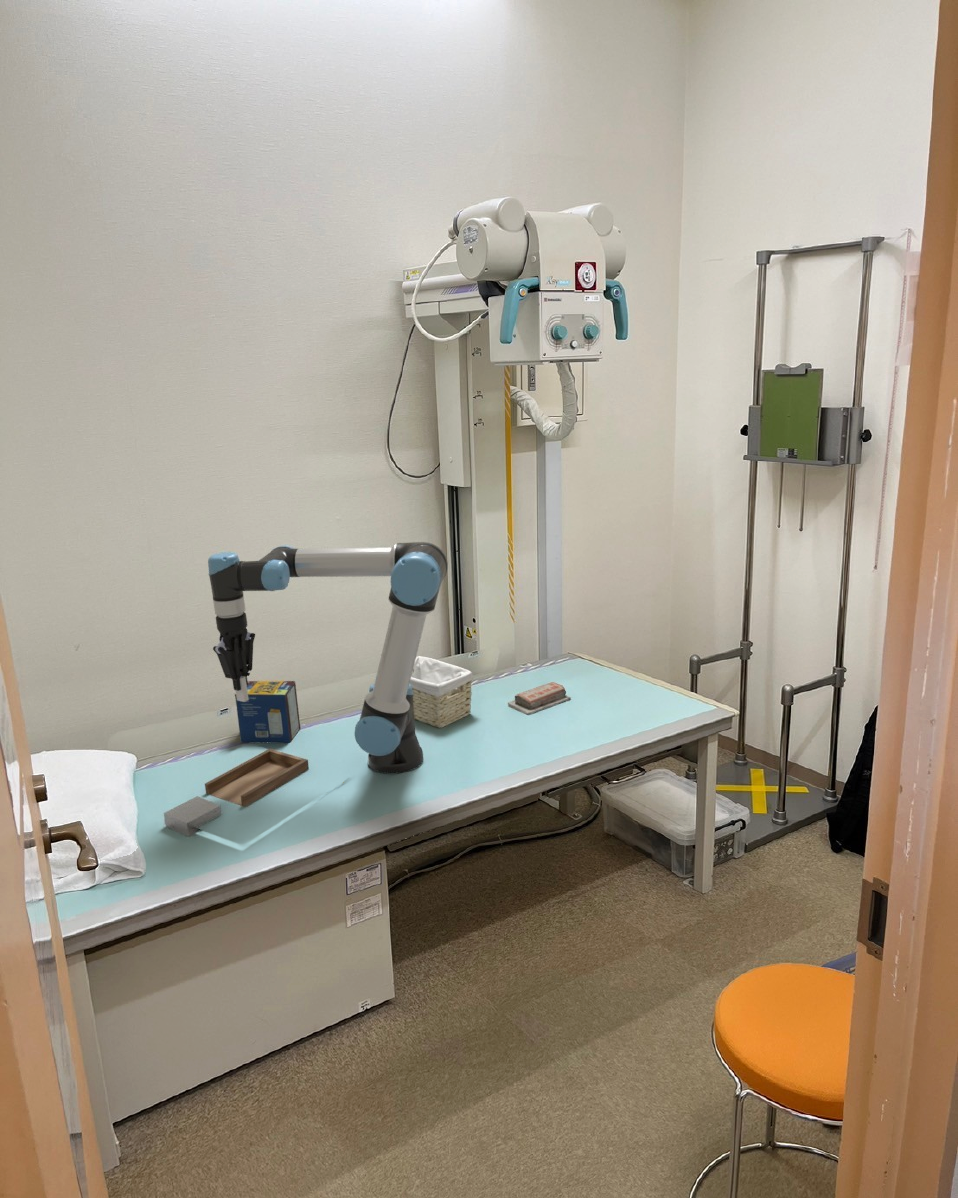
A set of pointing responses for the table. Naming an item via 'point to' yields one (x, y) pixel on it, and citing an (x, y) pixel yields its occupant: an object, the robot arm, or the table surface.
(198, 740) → the table surface
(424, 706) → the storage basket
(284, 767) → the walnut box
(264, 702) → the protein box
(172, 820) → the gray rectangular block
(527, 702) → the packaged product
